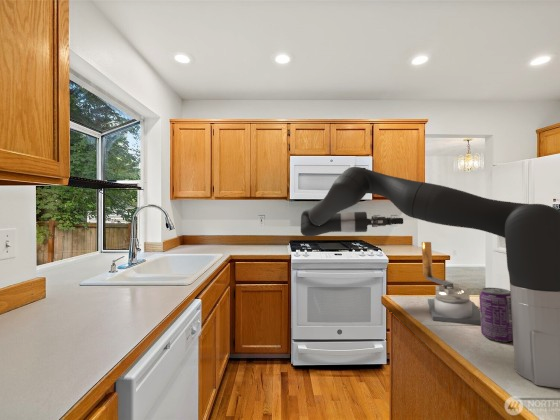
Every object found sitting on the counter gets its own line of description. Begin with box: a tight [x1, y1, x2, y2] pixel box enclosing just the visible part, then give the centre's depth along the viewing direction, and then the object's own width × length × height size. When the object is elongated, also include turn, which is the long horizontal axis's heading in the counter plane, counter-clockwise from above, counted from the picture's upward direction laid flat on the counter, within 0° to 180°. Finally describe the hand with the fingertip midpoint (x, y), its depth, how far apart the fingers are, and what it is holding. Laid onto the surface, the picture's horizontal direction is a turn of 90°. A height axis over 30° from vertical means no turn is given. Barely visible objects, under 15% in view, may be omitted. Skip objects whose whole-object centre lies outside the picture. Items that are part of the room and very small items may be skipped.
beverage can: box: [478, 287, 513, 343], centre depth 74 cm, size 7×7×12 cm
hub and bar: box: [421, 241, 471, 303], centre depth 95 cm, size 19×9×16 cm, turn 3°
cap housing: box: [427, 296, 481, 326], centre depth 94 cm, size 20×14×5 cm
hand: (402, 220), depth 106 cm, fingers closed
